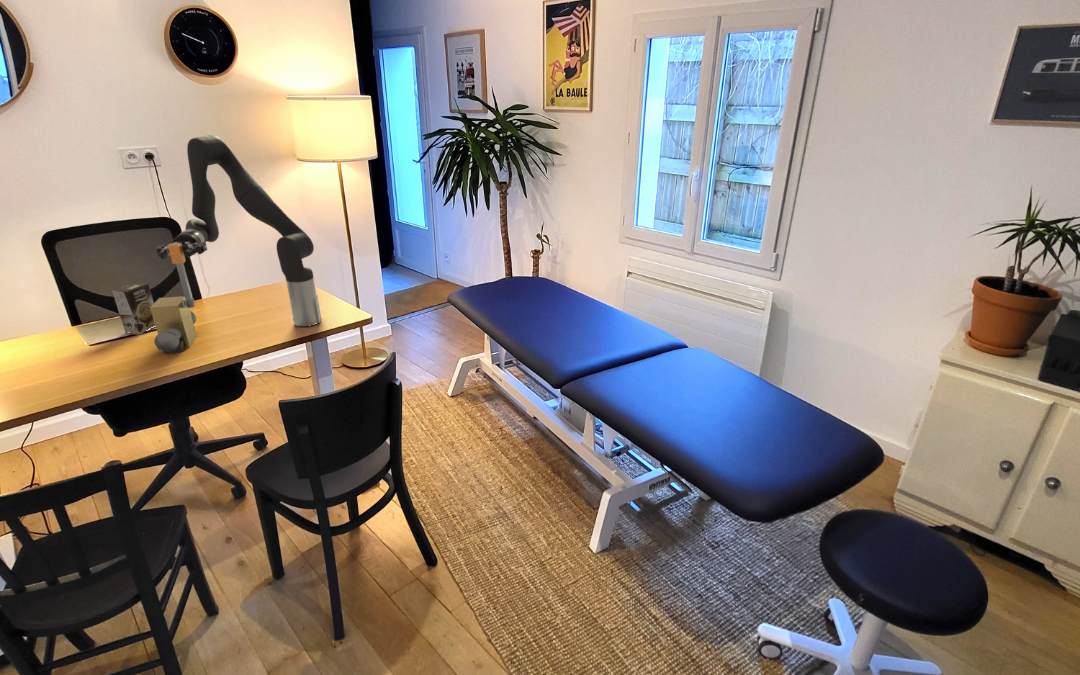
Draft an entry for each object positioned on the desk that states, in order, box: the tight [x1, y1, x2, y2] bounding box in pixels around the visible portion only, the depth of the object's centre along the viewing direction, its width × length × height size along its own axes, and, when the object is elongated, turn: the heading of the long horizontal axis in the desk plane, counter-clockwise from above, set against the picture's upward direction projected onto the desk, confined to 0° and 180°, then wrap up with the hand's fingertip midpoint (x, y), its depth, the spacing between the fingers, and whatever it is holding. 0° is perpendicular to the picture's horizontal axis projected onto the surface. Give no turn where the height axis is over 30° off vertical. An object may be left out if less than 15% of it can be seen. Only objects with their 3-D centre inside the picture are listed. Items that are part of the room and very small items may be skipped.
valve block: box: [150, 295, 198, 355], centre depth 185 cm, size 9×21×16 cm, turn 16°
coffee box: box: [111, 282, 155, 336], centre depth 195 cm, size 9×6×16 cm
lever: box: [167, 242, 196, 309], centre depth 180 cm, size 3×3×22 cm
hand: (174, 255), depth 175 cm, fingers open, 6 cm apart
